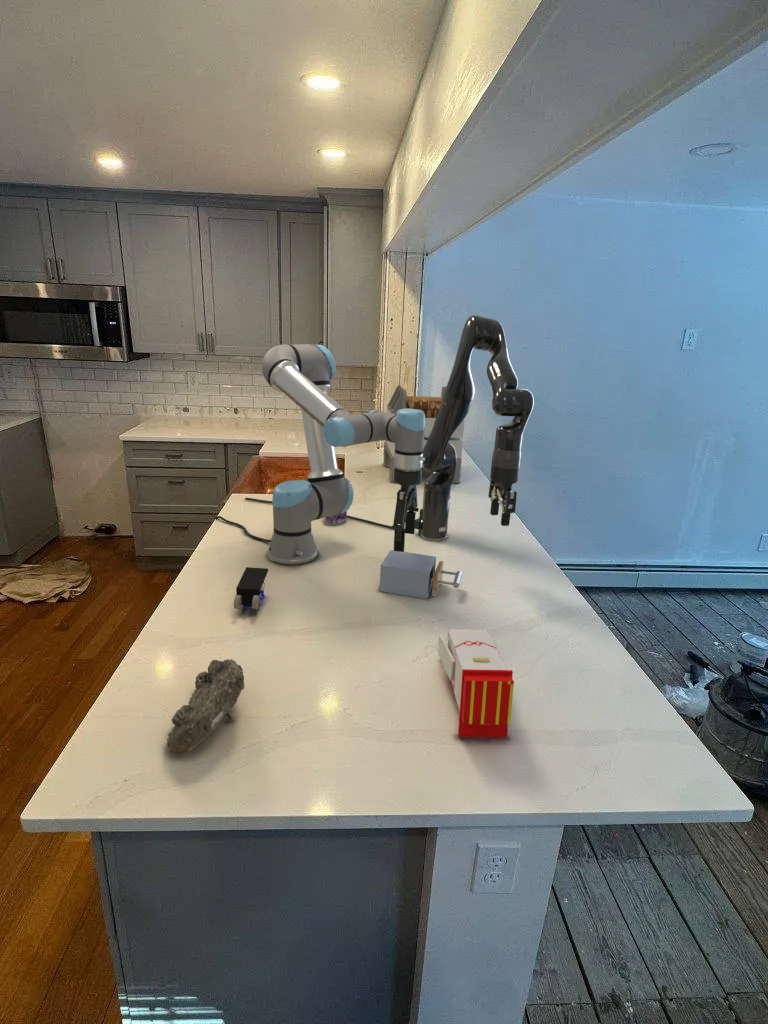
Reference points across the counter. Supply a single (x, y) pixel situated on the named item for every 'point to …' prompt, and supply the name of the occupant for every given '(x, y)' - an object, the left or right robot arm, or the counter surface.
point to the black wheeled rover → (250, 589)
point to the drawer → (438, 578)
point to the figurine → (336, 519)
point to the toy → (478, 682)
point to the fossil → (206, 705)
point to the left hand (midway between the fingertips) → (404, 541)
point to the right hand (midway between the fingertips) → (499, 520)
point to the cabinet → (407, 573)
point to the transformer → (430, 410)
